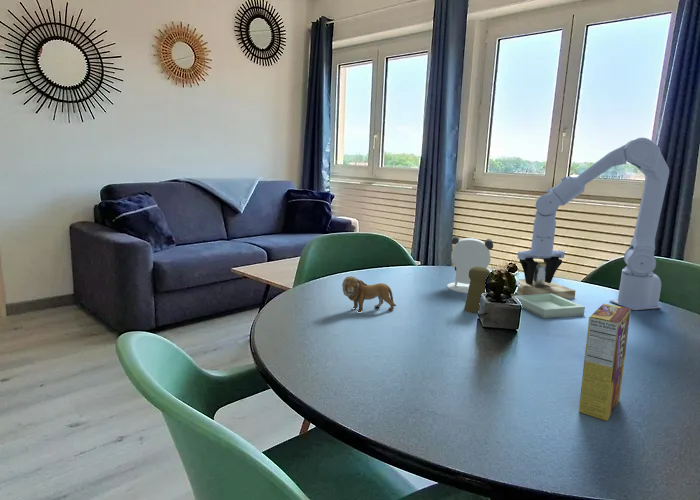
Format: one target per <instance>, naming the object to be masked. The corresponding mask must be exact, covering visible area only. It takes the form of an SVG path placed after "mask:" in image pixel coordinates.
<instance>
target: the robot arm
mask: <svg viewBox="0 0 700 500" xmlns="http://www.w3.org/2000/svg"><path fill="white" fill-rule="evenodd" d="M627 163H629V164H630V165H633V166H635V167H636V168H638V170H639V171H640V172H641V173H642V174H643V175H644V177H645V181H644V185H643V190H642V194H641V199H640V204H639V209H638V214H637V217H636V223H635V228H634V232H633V236H632V239H631V241H630V246H629V247H628V248H627V250H626V251H625V252H624V254H623V260H624V263H625V264H626V266H625V267H624V268H622V270H621V277H620V283H619V288H618V296H617V299H610V300H609V302H610V303H611V304H612V303H613V304H616V305H617V306H618V305H619V306H620V307H625V308H630V309H631V310H633V311H640V310H642V311H643V310H656V309H661V308H662V306H661V305H659V303H660V302H659V301H660V296H661V289H662V281H661V278H660V277H659V276H658V275H657V274H656V273H654V270H656V269H655V268H656V267H657V260H656V257H655V250H656V242H655V241H656V235H657V231H658V227H659V221H660V216H661V213H662V208H663V203H664V199H665V193H666V190H667V185H668V180H669V176H670V167H669V166H668V164H667V161H666V160H665V158H664V156H663V154H662V152H661V149H660V146H658V144H656V143H655V142H654V141H652V140H651V139H649V138H646V137H638V138H634V139H632V140H630V141H628V142H626V144H623V145H621V146H619V147H617V148H615V149H614V150H612V151H610V152H608V153H607V154H605V155H604V156H603V157H601V158H600V159H599V160H598V161H596V162H594V163H593V164H592V165H590V166H589V167H588V168H587V169H585V170H584V171H582V173H580V174H579V175H569V176H563V177H562V178H561V179H560V180H561V181H560V182H559V183H557V184H556V185H555V186H554V187H552V188H548V189H546V192H547V193H545V194H541V195H540V196H539V197H538V198H537V200H536V201H535V210H536V211H535V214H534V221H533V230H532V238H531V239H532V241H531V248H530V250H524V251H523V250H522V251H518V252H517V259H518V260H519V262H520V264H521V268H522V269H523V275H524V279H525V281H526V283H528V284H532V283H533V278H534V272H535V269H536V266H537V264H538V262H535V261H536V260H534V259H538V260H540V259H543V262H546V263H547V268H546V276H545V282H547V283H551V282H553V281H552V280H553V279H554V276H555V274H556V272H557V270H558V269H559V268H560V266H561V265H562V264H563V260H562V259H564V258H565V253H566V252H565V251H563V250H554V243H555V235H556V227H557V226H556V224H557V221H556V215H557V211H558V210H559V207H560V206H562V207H563V206H566V205H567V204H568V203H569V202H571V201H573V200H574V199H575V198H577V197H579V196H580V195H581V194H582V193H584V192H585V187H586V185H587V184H588V183H590V182H592V181H593V180H594V179H596V178H598V177H599V176H601V175H602V174H604V173H605V172H607V171H609V170H610V169H611V168H612V167H616V166H621V165H626V164H627Z"/></svg>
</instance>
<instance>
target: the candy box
mask: <svg viewBox="0 0 700 500" xmlns="http://www.w3.org/2000/svg"><path fill="white" fill-rule="evenodd" d="M631 310H632V309H630V308H626V307H623V306H621V305H619V306H618V305H614V304H605V303H603V304H602V305H601V306H599V307H598V308H597V310H595V311H594V312H593V313H592V314H591V315H590V316H589V317H588V325H587V334H586V335H587V336H586V344H585V351H584V361H583V369H582V376H581V377H582V378H581V386H580V388H581V389H580V396H579V405H578V412H579V413H580V414H584V415H585V416H589V417H592V418H596V419H598V420H601V421H604V422H608V420H609V419H610V417H611V416H612V414H613V412H614V411H615V408H616V406H617V405H618V404H619V401H620V400H621V391H622V390H621V389H622V384H623V383H622V382H623V375H624V368H625V360H626V350H627V342H628V333H629V324H630V317H631Z"/></svg>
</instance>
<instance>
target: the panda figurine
mask: <svg viewBox="0 0 700 500" xmlns="http://www.w3.org/2000/svg"><path fill="white" fill-rule="evenodd" d="M451 244H452V245H453V248H452V250H451V255H450V257H451V263H452V264H453V266H454V272H455V280H454V282H449V283H448V284H447V285H446V287H447V289H448V290H450V291H452V292H456V293H461V294H462V293H463V294H468V289H469V285H470V278H469V271H470V269H471V268H473V267H483V268H486V269H487V268H488V266H489V265H490V263H491V258H492V257H491V252H490V250H492V249H493V248H494V242H493V240H492V239H491V238H487V239H485V241H482V240H481V239H478V238H475V237H466V238H461V239H460V237H459V236H458V235H454V236H453V237H452V239H451Z"/></svg>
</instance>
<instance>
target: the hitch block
mask: <svg viewBox="0 0 700 500" xmlns="http://www.w3.org/2000/svg"><path fill="white" fill-rule="evenodd" d="M518 279H519V278H518ZM519 282H520V286H519V287H518V290H517V294H516V295H532V294H548V293H552V294H554V295H557V296H559V297H562V298H564V299H567V300H569V299H575V297H576V290H575V289H572V288H569V287H566V286H564V285H561V284H558V283H555V282H553V281H551V283H547V282H545V285H544V288H535V287H533V286H531V284H528V283H526V281H525V278H522V279H521V278H520V279H519Z"/></svg>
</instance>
